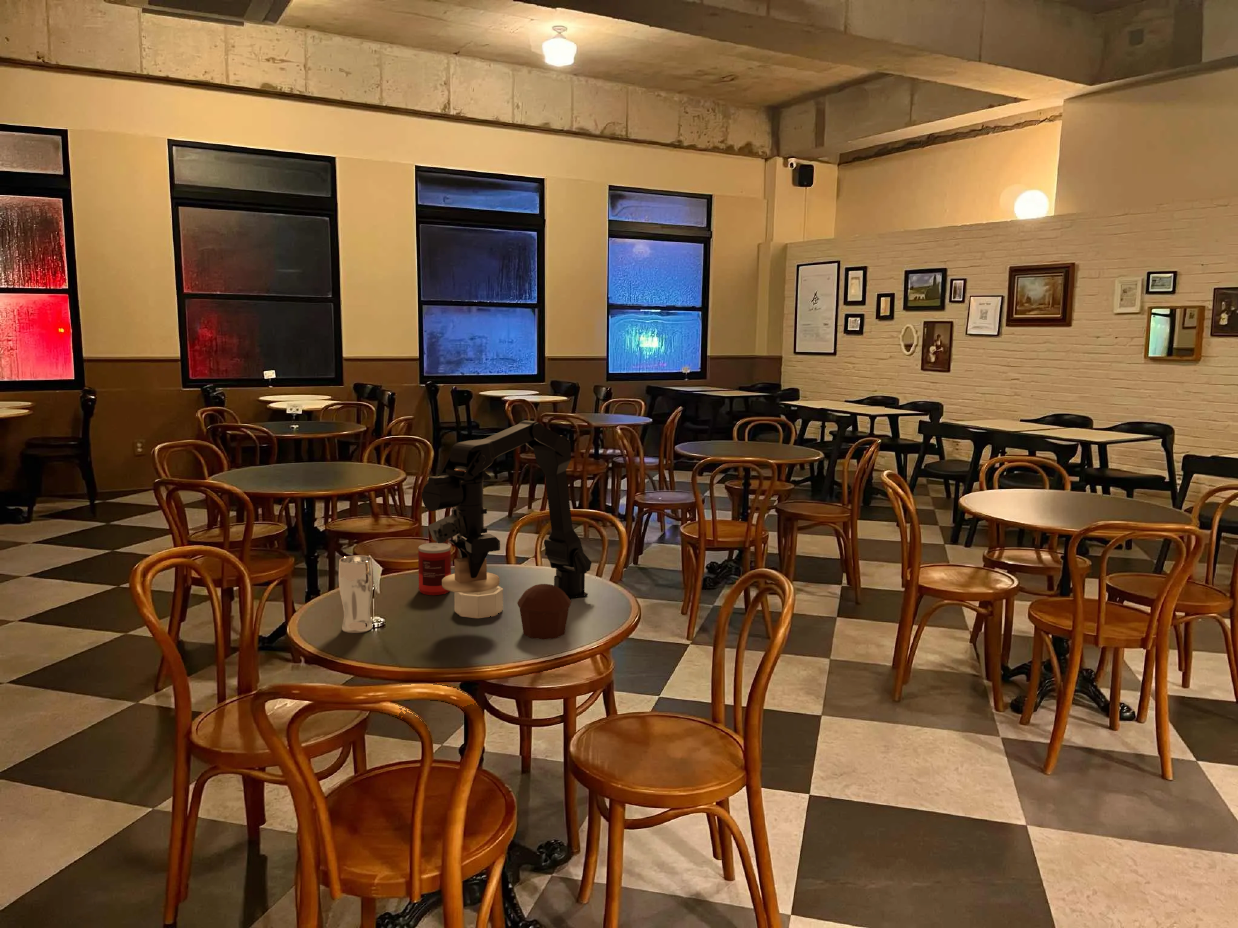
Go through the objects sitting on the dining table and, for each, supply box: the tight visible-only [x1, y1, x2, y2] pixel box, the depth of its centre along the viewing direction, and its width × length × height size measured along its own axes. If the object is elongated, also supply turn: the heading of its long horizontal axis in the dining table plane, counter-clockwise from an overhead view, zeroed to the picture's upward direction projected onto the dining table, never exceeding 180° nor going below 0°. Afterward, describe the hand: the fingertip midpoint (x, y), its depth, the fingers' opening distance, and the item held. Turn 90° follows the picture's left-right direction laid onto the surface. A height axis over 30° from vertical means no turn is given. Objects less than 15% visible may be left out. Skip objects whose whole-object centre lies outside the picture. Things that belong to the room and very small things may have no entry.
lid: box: [442, 557, 501, 593], centre depth 185 cm, size 12×12×6 cm
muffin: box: [516, 583, 572, 640], centre depth 184 cm, size 12×11×10 cm
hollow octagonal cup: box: [454, 586, 504, 619], centre depth 198 cm, size 10×10×5 cm
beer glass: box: [338, 554, 374, 634], centre depth 184 cm, size 7×7×15 cm
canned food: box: [417, 542, 452, 596], centre depth 212 cm, size 8×8×11 cm
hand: (470, 575), depth 185 cm, fingers closed on lid, 3 cm apart
